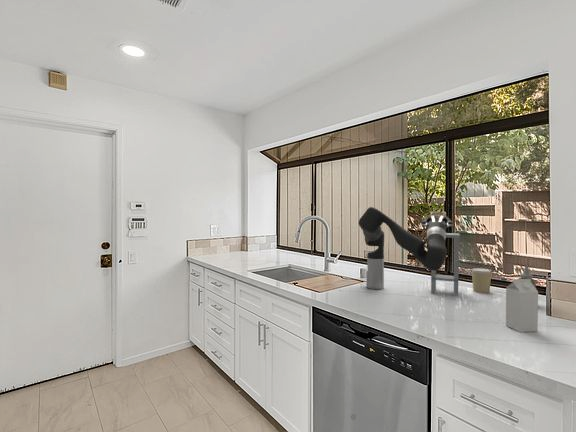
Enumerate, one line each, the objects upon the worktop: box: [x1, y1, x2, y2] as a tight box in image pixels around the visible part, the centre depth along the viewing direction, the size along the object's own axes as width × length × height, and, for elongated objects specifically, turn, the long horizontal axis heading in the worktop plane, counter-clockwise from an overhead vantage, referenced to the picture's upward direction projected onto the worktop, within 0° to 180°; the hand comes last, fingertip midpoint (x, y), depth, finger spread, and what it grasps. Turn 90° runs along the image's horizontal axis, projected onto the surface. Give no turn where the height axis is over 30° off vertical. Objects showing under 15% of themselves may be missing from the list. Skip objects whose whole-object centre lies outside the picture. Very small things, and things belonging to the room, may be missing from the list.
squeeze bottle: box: [518, 266, 537, 289], centre depth 154 cm, size 8×8×18 cm
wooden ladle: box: [430, 211, 447, 220], centre depth 158 cm, size 7×19×3 cm, turn 154°
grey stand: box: [430, 232, 461, 297], centre depth 176 cm, size 14×10×32 cm
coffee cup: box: [471, 267, 493, 294], centre depth 178 cm, size 9×9×12 cm
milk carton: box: [505, 278, 539, 333], centre depth 124 cm, size 7×7×19 cm
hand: (437, 213), depth 155 cm, fingers closed on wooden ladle, 2 cm apart
